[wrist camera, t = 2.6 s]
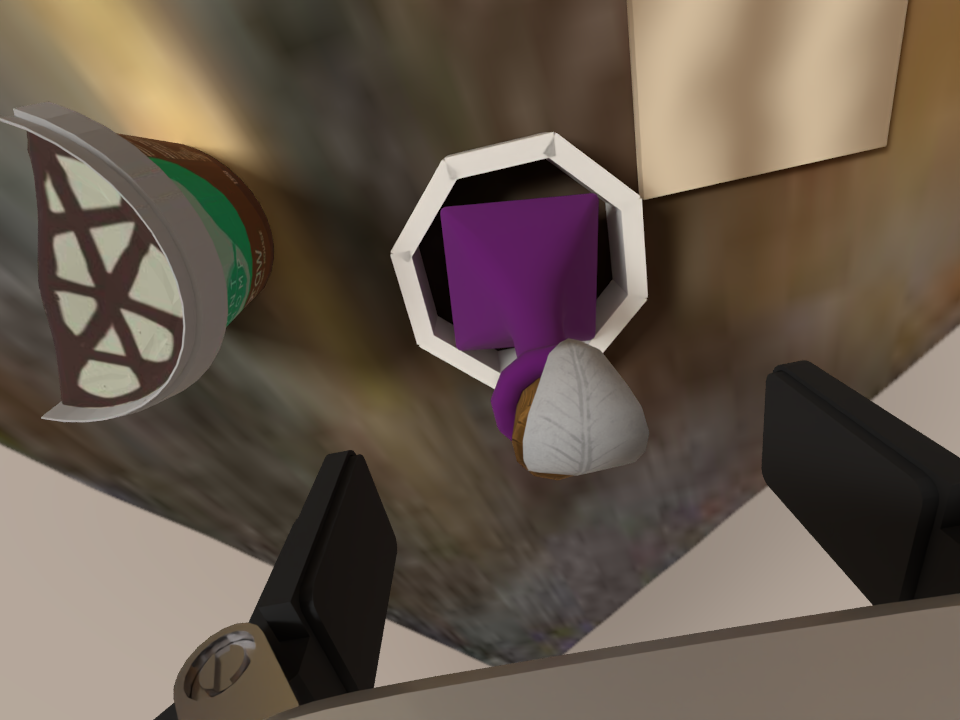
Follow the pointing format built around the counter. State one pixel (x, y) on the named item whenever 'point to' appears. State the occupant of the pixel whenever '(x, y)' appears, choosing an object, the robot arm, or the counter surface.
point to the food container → (136, 260)
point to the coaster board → (757, 85)
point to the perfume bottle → (542, 331)
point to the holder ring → (620, 200)
